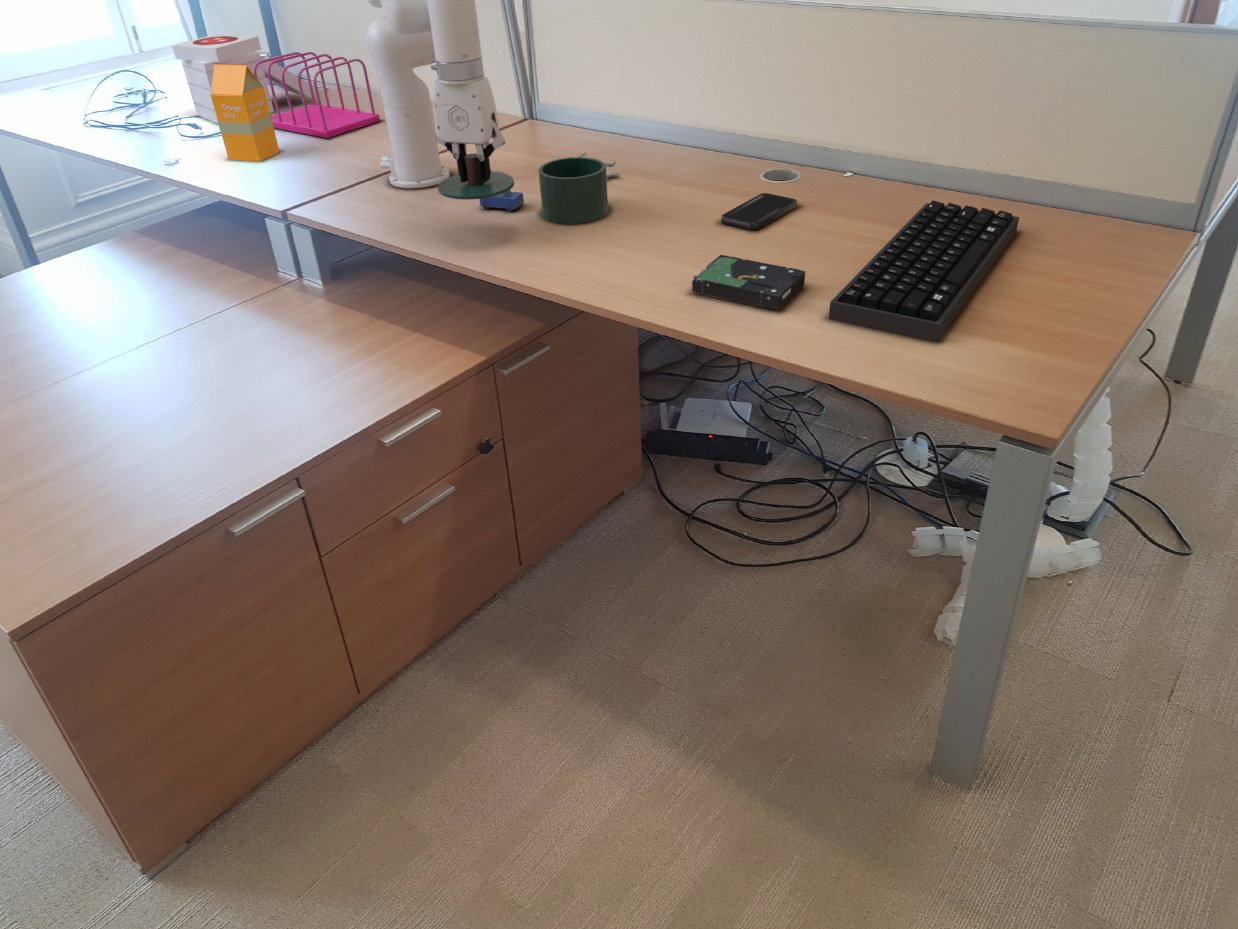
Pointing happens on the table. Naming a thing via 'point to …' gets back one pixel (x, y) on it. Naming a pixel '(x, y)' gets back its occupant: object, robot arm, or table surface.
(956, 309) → the computer keyboard
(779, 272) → the disk drive
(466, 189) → the lid
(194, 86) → the pizza boxes
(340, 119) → the file sorter
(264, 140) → the orange juice
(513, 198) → the toy car
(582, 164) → the tin
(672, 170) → the table surface
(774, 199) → the phone
